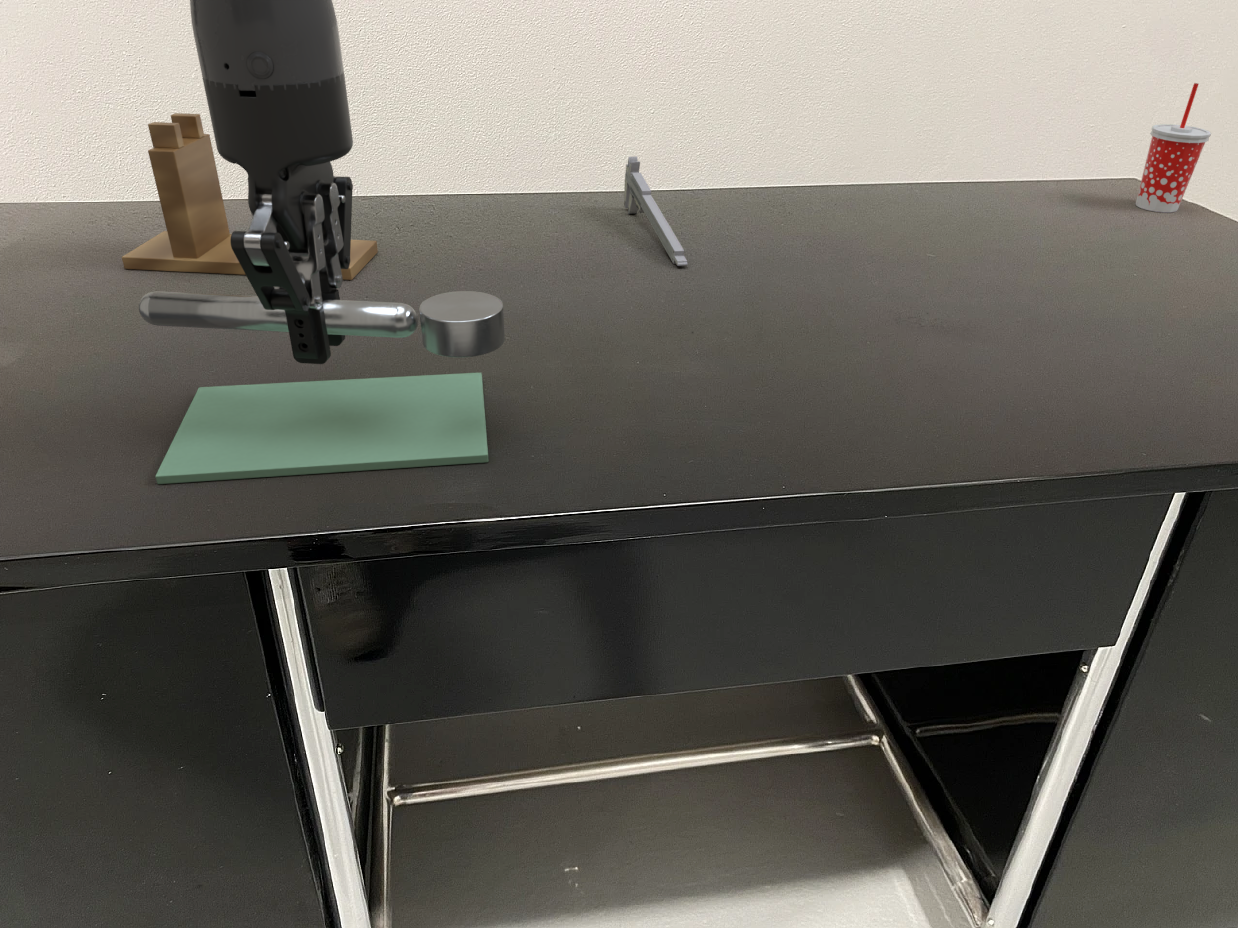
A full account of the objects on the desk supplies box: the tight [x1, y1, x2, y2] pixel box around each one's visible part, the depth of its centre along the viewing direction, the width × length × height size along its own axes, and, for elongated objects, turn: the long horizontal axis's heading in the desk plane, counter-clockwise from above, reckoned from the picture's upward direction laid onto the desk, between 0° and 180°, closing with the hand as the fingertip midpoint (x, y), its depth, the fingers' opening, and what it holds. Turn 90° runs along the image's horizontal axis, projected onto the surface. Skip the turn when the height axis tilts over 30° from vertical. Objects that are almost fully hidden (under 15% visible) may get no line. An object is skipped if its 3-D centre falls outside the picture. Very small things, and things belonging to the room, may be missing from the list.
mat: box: [155, 372, 489, 485], centre depth 63 cm, size 20×12×1 cm, turn 99°
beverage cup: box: [1135, 82, 1212, 213], centre depth 109 cm, size 6×6×14 cm
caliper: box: [623, 155, 688, 267], centre depth 98 cm, size 20×1×6 cm, turn 15°
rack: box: [121, 112, 379, 281], centre depth 87 cm, size 22×8×13 cm, turn 85°
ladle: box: [138, 290, 506, 359], centre depth 59 cm, size 24×5×2 cm, turn 85°
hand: (320, 351), depth 61 cm, fingers closed on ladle, 2 cm apart
